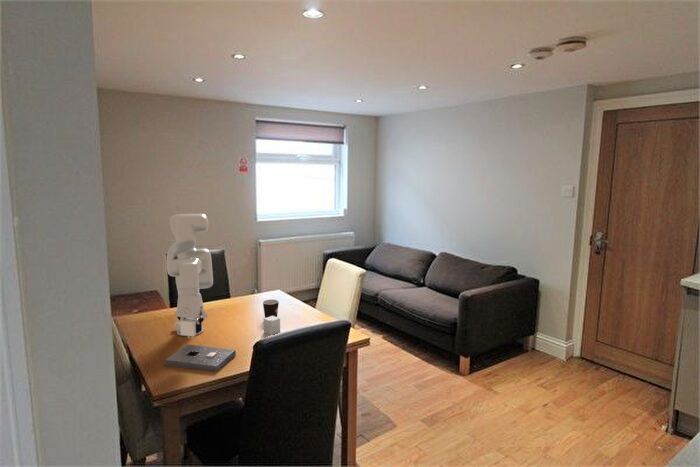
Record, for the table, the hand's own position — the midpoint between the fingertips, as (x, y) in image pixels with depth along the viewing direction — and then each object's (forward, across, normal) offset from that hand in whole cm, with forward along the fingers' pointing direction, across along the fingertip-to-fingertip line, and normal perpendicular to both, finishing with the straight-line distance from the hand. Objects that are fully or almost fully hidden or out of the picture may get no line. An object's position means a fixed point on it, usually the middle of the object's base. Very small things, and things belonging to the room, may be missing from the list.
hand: (191, 331), depth 181 cm
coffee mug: (+13, +14, +56) cm, 59 cm away
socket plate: (+13, +4, +1) cm, 14 cm away
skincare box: (+13, +21, +38) cm, 45 cm away
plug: (+3, 0, 0) cm, 3 cm away
